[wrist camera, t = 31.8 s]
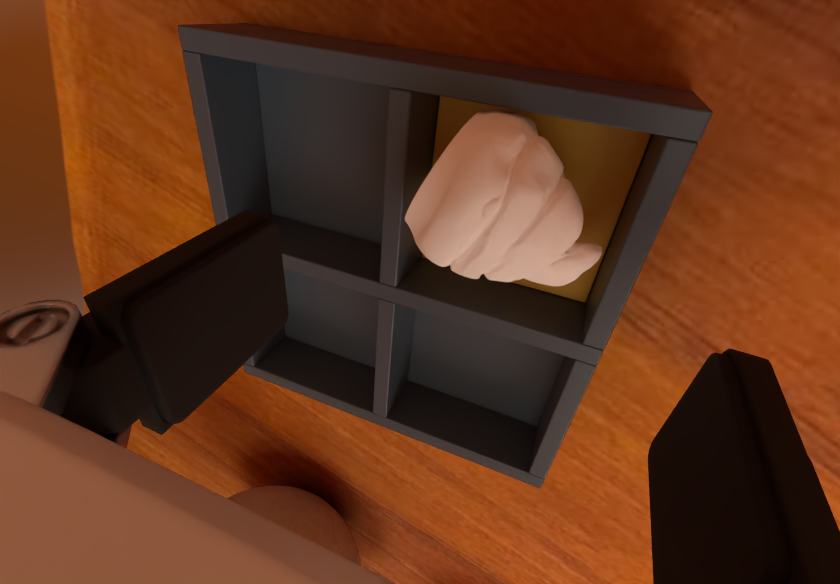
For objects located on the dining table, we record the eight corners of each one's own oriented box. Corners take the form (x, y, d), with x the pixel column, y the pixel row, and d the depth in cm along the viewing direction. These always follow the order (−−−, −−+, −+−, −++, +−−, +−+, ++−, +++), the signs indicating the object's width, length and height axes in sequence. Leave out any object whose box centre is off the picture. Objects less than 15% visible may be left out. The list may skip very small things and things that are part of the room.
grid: (245, 23, 18) (176, 24, 15) (694, 91, 14) (714, 110, 11) (281, 336, 28) (244, 372, 25) (549, 432, 24) (540, 489, 21)
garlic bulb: (544, 285, 18) (522, 368, 14) (430, 202, 18) (374, 259, 14) (646, 185, 15) (657, 253, 11) (507, 82, 15) (462, 110, 11)
